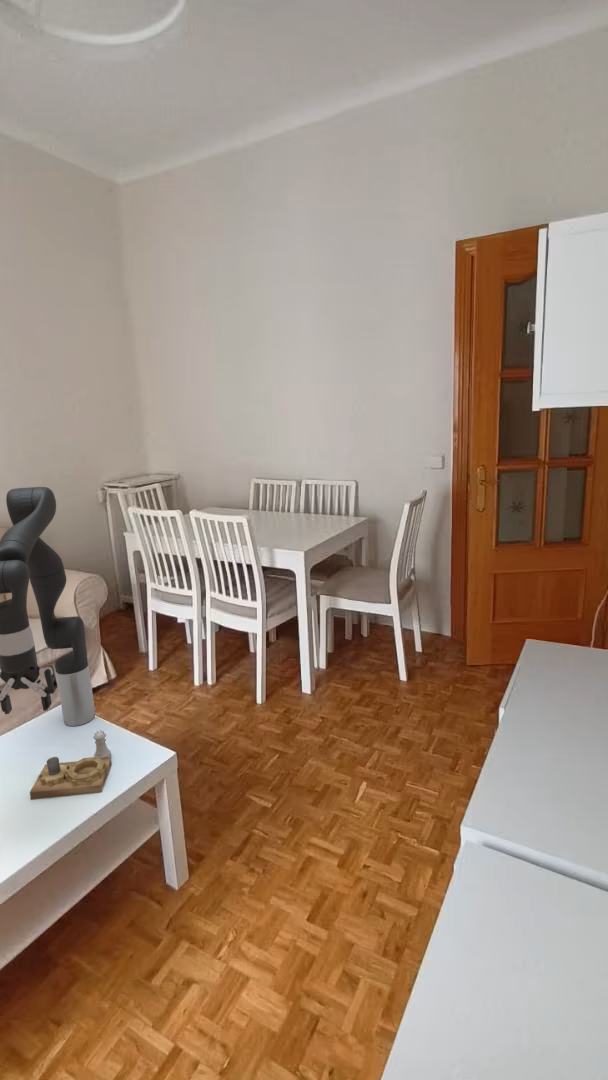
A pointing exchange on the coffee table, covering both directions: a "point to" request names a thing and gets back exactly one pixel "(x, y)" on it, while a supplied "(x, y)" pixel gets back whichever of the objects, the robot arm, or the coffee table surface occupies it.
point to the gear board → (68, 785)
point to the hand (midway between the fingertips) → (27, 710)
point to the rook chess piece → (101, 746)
